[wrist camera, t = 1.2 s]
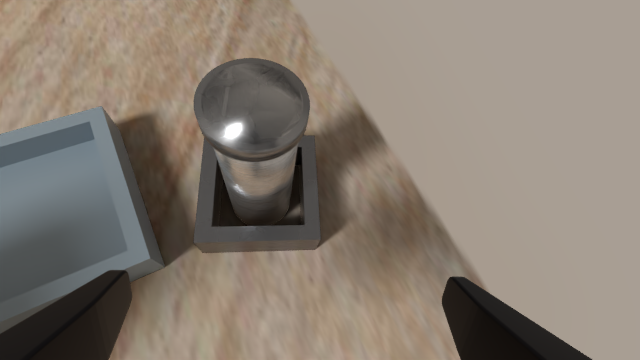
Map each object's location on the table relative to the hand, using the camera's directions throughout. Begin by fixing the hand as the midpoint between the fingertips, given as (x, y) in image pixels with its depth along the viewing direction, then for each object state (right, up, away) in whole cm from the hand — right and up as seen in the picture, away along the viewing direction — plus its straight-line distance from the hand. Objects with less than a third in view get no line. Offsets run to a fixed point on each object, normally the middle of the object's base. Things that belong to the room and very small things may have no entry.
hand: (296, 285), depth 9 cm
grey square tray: (-4, +2, +16) cm, 16 cm away
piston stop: (-4, +1, +16) cm, 16 cm away
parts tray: (-18, 0, +13) cm, 22 cm away
